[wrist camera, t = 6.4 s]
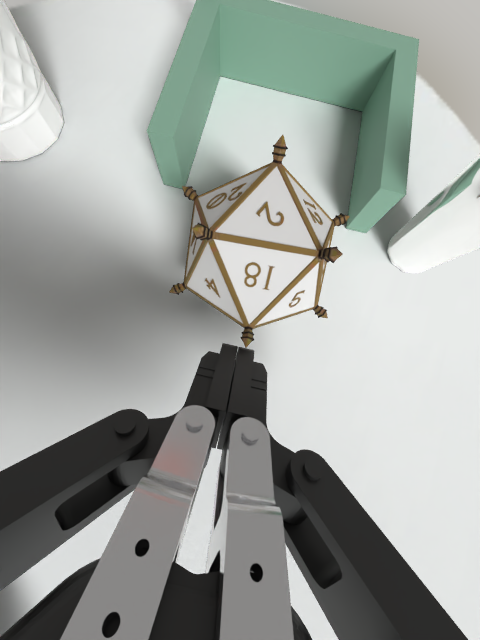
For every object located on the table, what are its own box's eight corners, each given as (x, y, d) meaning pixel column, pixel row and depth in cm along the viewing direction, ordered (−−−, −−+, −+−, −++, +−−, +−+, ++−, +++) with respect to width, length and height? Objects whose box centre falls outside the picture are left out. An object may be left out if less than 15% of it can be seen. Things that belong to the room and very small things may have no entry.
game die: (227, 315, 20) (105, 321, 11) (244, 204, 18) (122, 114, 10) (344, 344, 15) (293, 393, 7) (378, 201, 14) (367, 37, 6)
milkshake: (367, 278, 17) (558, 155, 7) (386, 216, 18) (572, 38, 9) (428, 302, 17) (703, 211, 7) (443, 238, 18) (697, 86, 8)
